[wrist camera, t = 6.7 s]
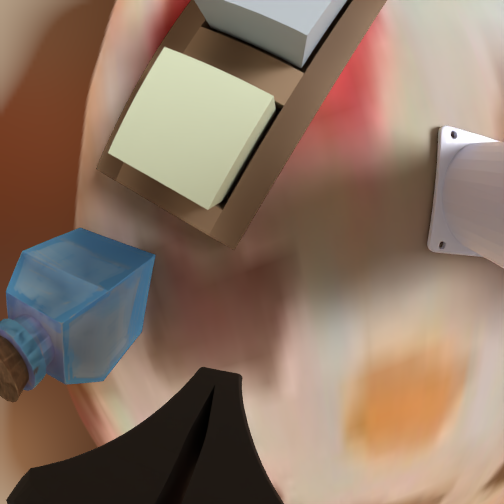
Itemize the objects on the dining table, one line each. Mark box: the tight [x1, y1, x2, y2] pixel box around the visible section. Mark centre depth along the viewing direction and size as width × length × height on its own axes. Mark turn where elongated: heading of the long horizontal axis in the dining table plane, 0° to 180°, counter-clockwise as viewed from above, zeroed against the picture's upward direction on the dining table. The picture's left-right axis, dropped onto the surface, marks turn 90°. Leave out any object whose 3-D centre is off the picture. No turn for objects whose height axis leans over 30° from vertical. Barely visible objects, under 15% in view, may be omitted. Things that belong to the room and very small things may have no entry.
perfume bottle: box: [0, 228, 155, 402], centre depth 15 cm, size 6×6×12 cm
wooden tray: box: [96, 0, 387, 250], centre depth 14 cm, size 9×25×3 cm, turn 150°
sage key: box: [108, 47, 276, 210], centre depth 14 cm, size 5×5×4 cm
